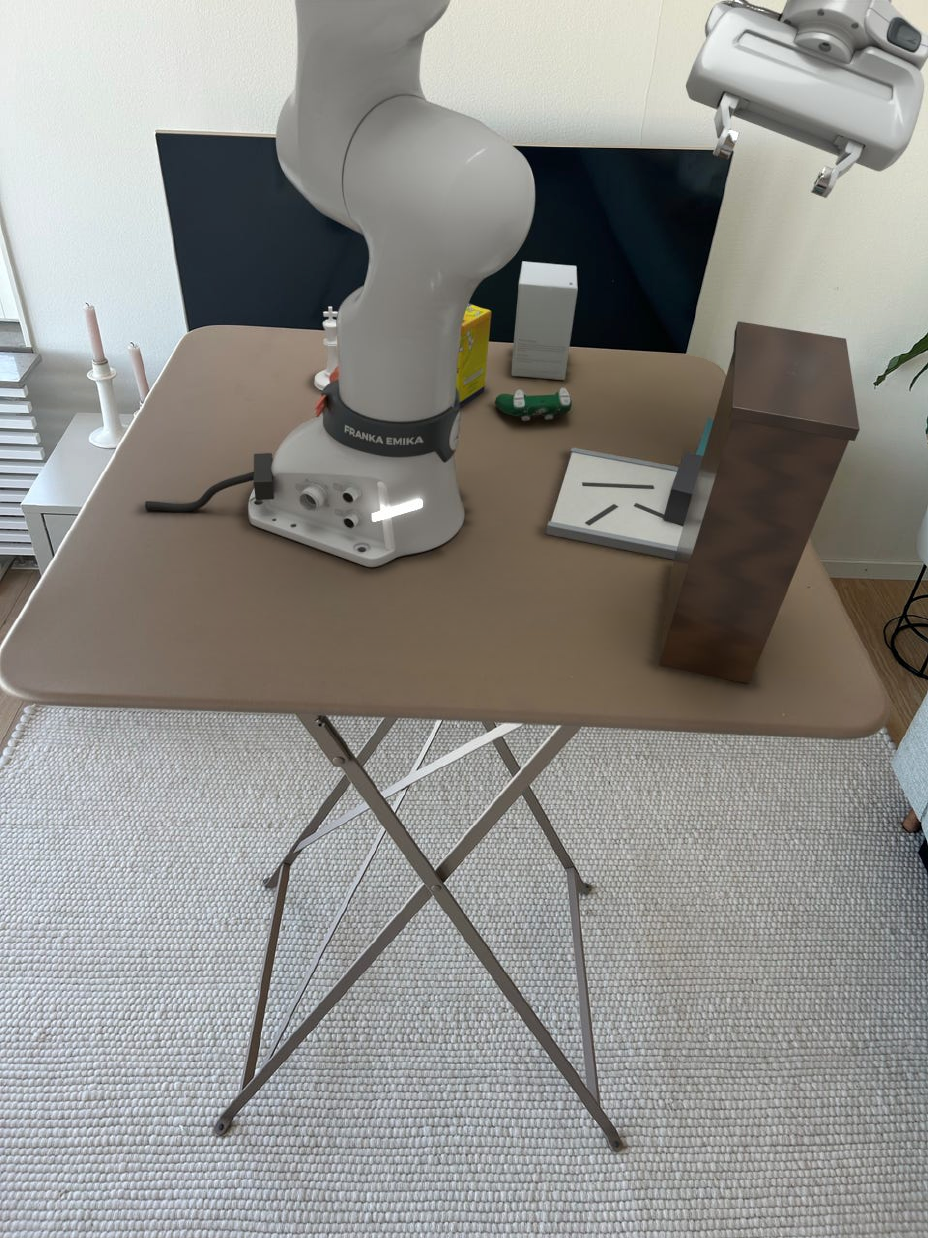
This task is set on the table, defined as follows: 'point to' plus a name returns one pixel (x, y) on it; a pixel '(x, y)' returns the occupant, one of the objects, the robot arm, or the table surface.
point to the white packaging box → (544, 320)
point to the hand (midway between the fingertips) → (771, 172)
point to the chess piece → (331, 342)
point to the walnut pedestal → (757, 496)
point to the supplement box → (473, 353)
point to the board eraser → (686, 480)
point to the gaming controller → (534, 404)
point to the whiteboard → (616, 504)
